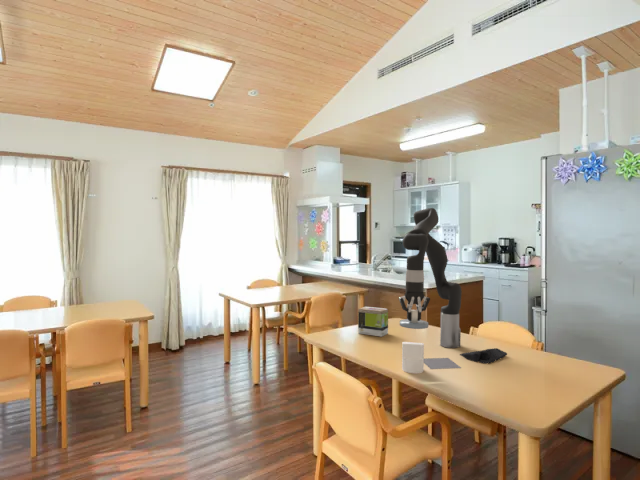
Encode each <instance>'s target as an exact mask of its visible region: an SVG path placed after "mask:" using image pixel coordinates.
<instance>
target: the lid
mask: <svg viewBox="0 0 640 480" xmlns="http://www.w3.org/2000/svg"><path fill="white" fill-rule="evenodd" d="M399 326H400V327H402V328H405V329H413V330H414V329H415V330H423V329H428V328H429V321H426V320H422V319H421V320H420V321H418V310H417V309H411V321H409V320H408V319H407V318H406V319H401V320H399Z"/></svg>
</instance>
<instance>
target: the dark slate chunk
mask: <svg viewBox="0 0 640 480" xmlns="http://www.w3.org/2000/svg"><path fill="white" fill-rule="evenodd" d="M507 355H508V353H507V352H506V351H504V350H501V349H499V348H486V349H483V350H474V351H469V352H464V353H460V354H459V356H461V357H463V358H464V359H466V360H468V361H472V362H475V363H481V364H484V365H486V364H487V363H488V364H492V363H495V362H496V361H499V360H501V359H500V358H502V359H503V358H504V357H506V356H507ZM498 359H499V360H498ZM494 361H495V362H494ZM491 362H492V363H491Z"/></svg>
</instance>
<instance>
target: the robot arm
mask: <svg viewBox="0 0 640 480" xmlns="http://www.w3.org/2000/svg"><path fill="white" fill-rule="evenodd" d="M413 221H414V224H415V225H414V227H413V229H412V230H410V231H409V232H407V233H406V234H405V235H404V236H403V239H402V246H403V248H404V249H405V250H407V251H408V250H409V251H418V253H417V254H415V255H414V254H413V255H409V256H407V258H406V274H405V293H404V295H403V296H399V297H398V301H399V303H400V306H401V309H402V310H403V311H405V312H406V319H408V320H409V321H411V310H413V309H412V308H413V306H414V305H415V306H416V310H418V321H420V320H422V313H423V312H425V311H426V310H427V307H428V306H429V303H430V301H431V298H430V297H428V296H425V293H424V291H425V289H424V286H425V284H424V283H425V273H424V269H425V268H424V267H425V266H424V264H425V262H424V261H425V255H426V256H427V259H428V262H429V266H430V268H431V271H432V274H433V278H434V282H435V286H436V287H435V288H436V291H437V294H438V296H439V297H440V298H441V299H443V300H447V301H448V304H447V305H444V306H441V308H440V337H439V338H440V340H439V341H440V342H439V343H440V344H439V345H440V346H441V347H444V348H449V349H456V348H460V347H461V336H462V335H461V327H460V311H461V306H462V295H463V293H462V291H463V290H462V287H461V285H460V284H459V283H457V282H453V281H451V282H450V281H448V280H447V277H446V274H445V272H446V268H447V266H448V261H449V259H448V256H447V252H446V250H445V247H444V246H443V245H442V244H441V243H440V242H439V241H438V240H437V239H435V238H434V237H433V236H432V235H431V234H430V233H431V231H432V230H433V229H434V228H435V227H436V226H437V225H438V223H439V215H438V212H437V210H436V209H435V208H433V207H429V208H424V209H420V210H416V211H414V213H413ZM405 301H407V303H405ZM422 301H423V302H422Z"/></svg>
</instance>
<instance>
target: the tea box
mask: <svg viewBox="0 0 640 480" xmlns="http://www.w3.org/2000/svg"><path fill="white" fill-rule="evenodd" d="M357 311H358V312H357V313H358V314H357V317H358V318H357V319H358V320H357V322H358V325H357V327H358V328H357V329H358V331H357V332H358V334H360V335H368V336H374V337H375V336H376V337H385V336H387V334H388V333H389V309H388V308H385V307H384V308H383V307H375V306H374V307H373V306H363V307H360V308H358V309H357Z"/></svg>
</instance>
